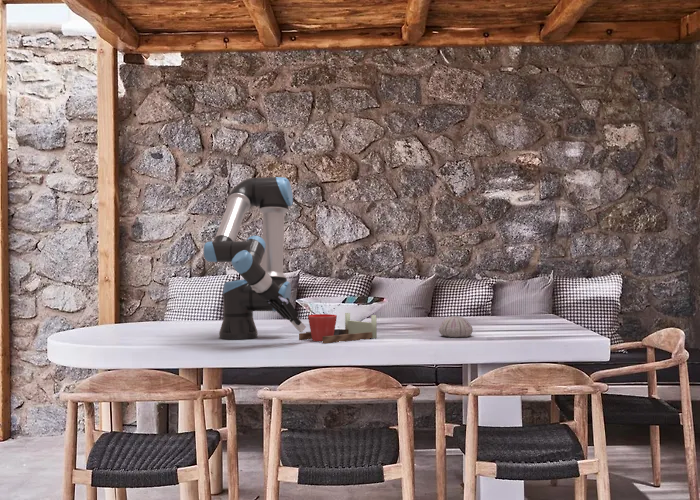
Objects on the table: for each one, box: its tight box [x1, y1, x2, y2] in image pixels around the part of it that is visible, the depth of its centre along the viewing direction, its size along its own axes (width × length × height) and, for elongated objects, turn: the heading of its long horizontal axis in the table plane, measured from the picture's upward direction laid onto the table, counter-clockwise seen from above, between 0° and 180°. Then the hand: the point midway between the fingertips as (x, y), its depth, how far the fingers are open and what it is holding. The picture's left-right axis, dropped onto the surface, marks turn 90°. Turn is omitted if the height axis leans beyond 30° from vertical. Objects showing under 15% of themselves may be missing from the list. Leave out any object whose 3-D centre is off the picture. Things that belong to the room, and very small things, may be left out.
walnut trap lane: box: [298, 328, 372, 345], centre depth 308 cm, size 25×19×2 cm
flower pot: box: [307, 313, 338, 342], centre depth 303 cm, size 11×11×10 cm
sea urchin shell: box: [438, 315, 473, 339], centre depth 312 cm, size 13×14×8 cm
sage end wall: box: [344, 312, 378, 339], centre depth 314 cm, size 2×18×9 cm, turn 39°
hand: (302, 329), depth 296 cm, fingers closed
